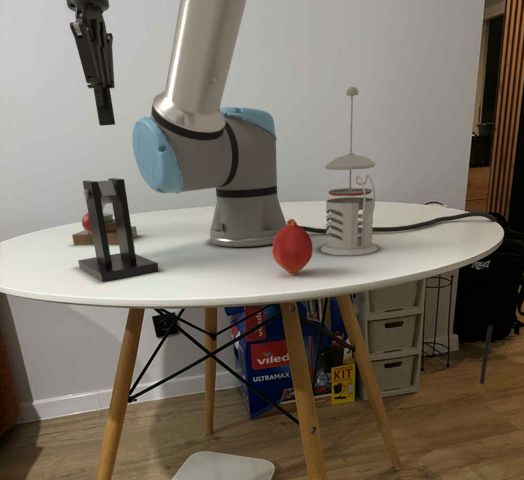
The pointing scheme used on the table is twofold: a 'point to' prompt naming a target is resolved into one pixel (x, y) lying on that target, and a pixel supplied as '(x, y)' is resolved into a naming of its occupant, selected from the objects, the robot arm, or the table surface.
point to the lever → (106, 197)
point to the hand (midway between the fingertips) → (107, 124)
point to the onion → (292, 247)
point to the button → (108, 217)
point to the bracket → (126, 260)
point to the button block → (111, 231)
